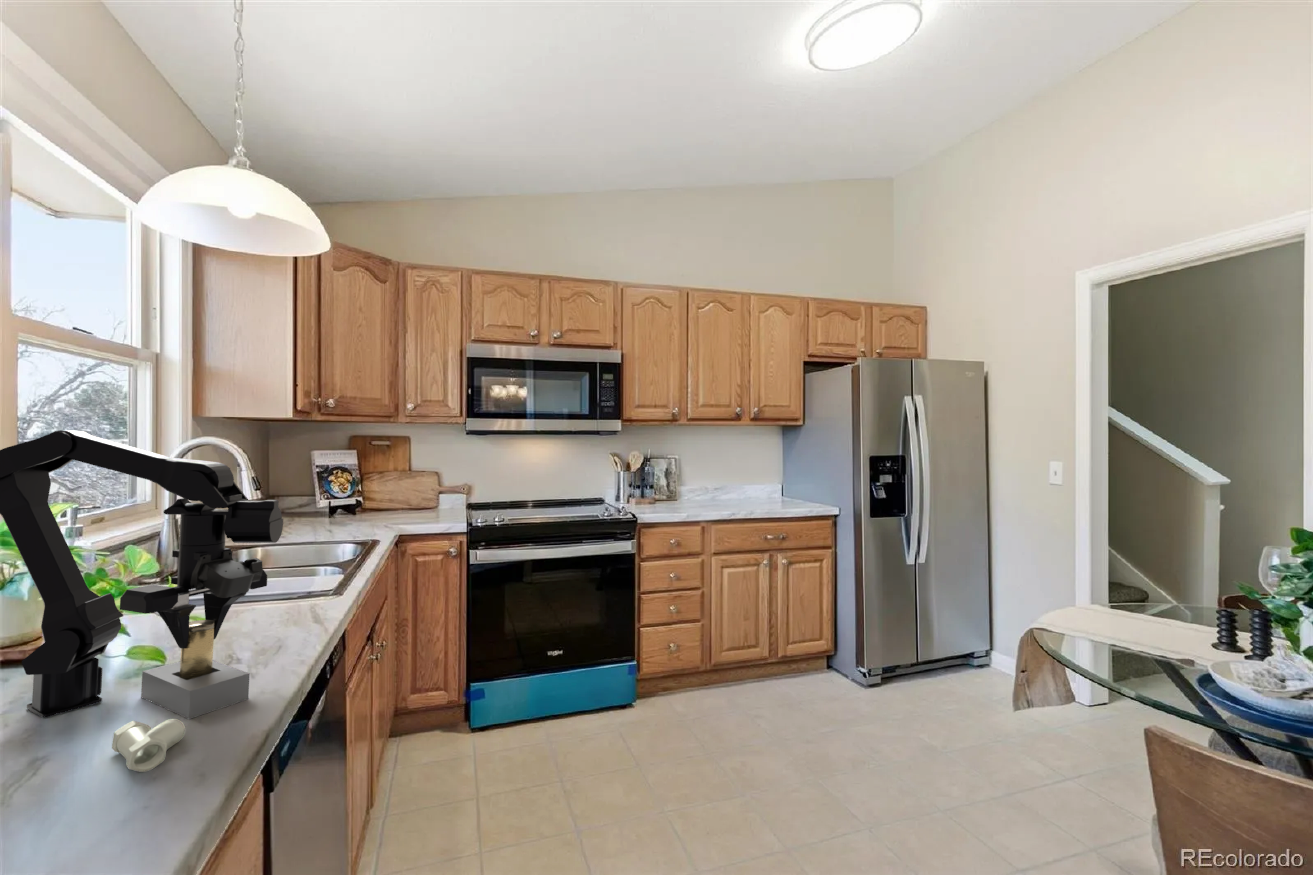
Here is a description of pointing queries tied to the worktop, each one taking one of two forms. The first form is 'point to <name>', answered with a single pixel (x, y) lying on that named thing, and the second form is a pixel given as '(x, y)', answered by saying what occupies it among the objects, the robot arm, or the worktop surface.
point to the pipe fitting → (146, 743)
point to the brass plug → (198, 650)
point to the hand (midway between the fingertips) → (197, 643)
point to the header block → (195, 689)
